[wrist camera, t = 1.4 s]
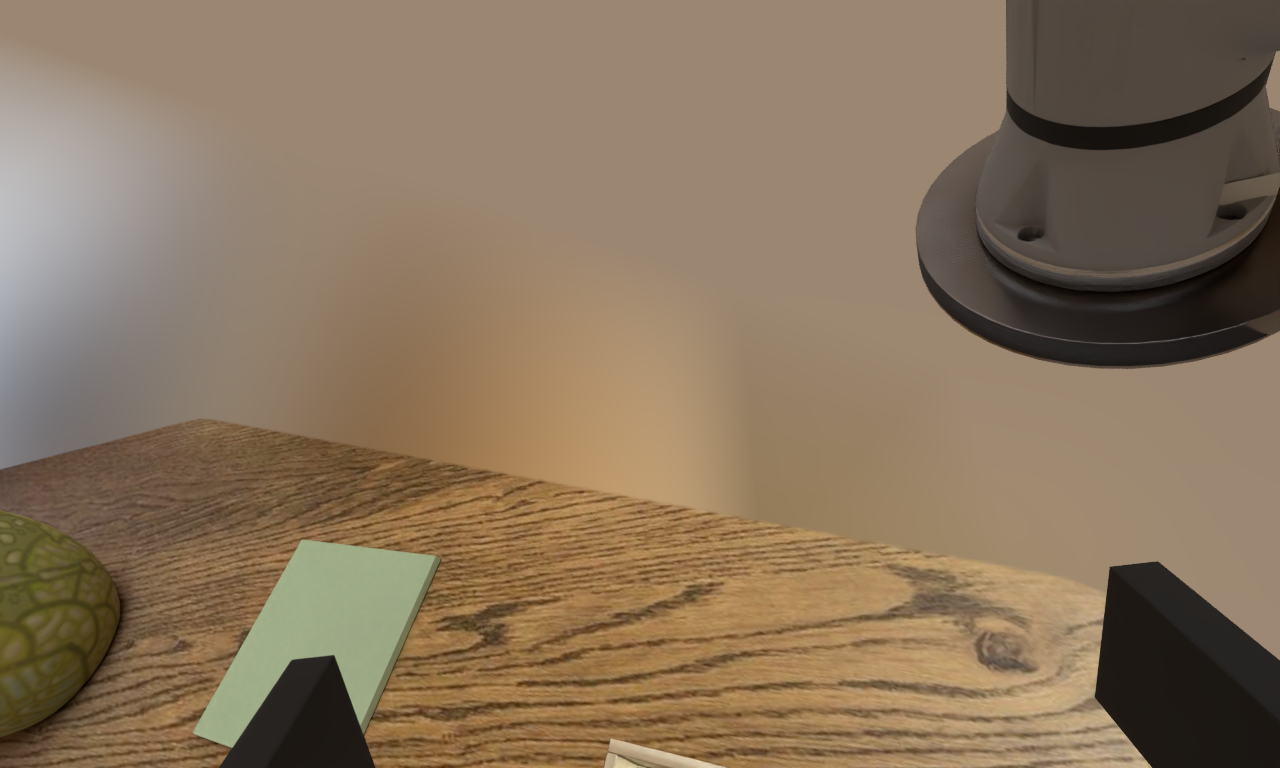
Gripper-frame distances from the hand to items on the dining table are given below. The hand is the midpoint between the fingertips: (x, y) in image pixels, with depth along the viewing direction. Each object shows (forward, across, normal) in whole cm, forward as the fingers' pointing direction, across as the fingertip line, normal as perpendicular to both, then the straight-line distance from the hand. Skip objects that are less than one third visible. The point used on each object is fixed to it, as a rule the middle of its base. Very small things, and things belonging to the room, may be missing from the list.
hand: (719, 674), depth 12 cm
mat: (+28, -26, -20) cm, 43 cm away
